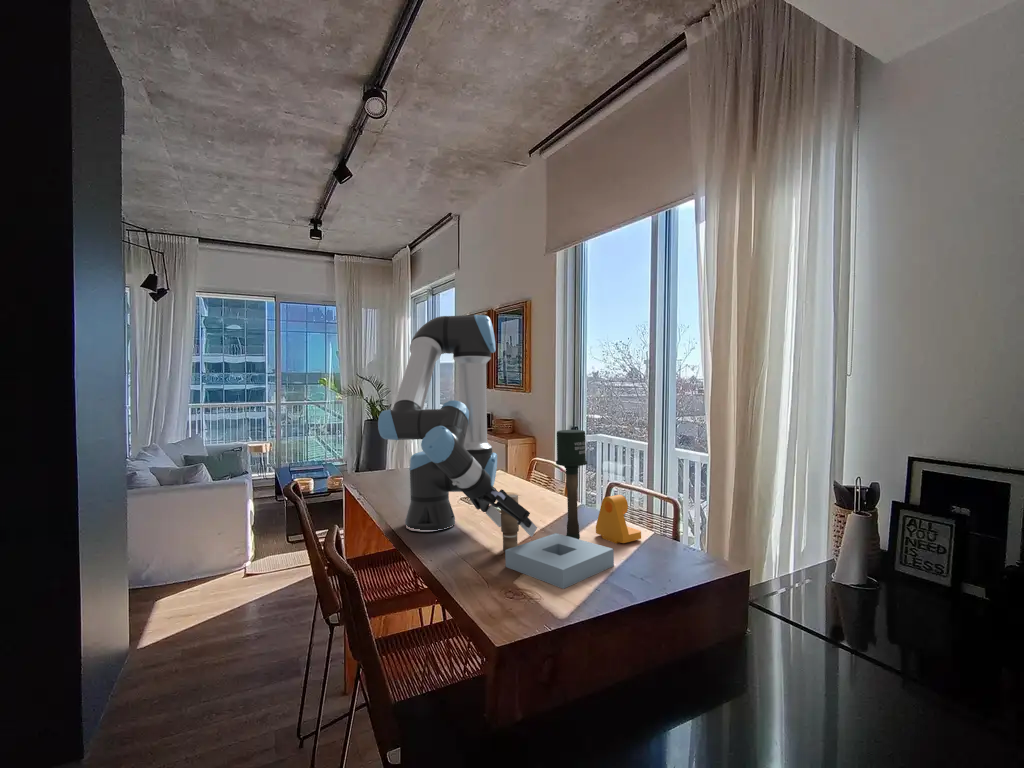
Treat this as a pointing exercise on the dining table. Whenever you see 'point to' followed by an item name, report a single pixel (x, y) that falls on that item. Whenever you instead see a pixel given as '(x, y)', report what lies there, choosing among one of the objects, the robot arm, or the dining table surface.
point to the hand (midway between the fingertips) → (517, 527)
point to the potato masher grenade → (571, 471)
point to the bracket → (615, 521)
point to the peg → (509, 528)
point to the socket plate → (559, 559)
